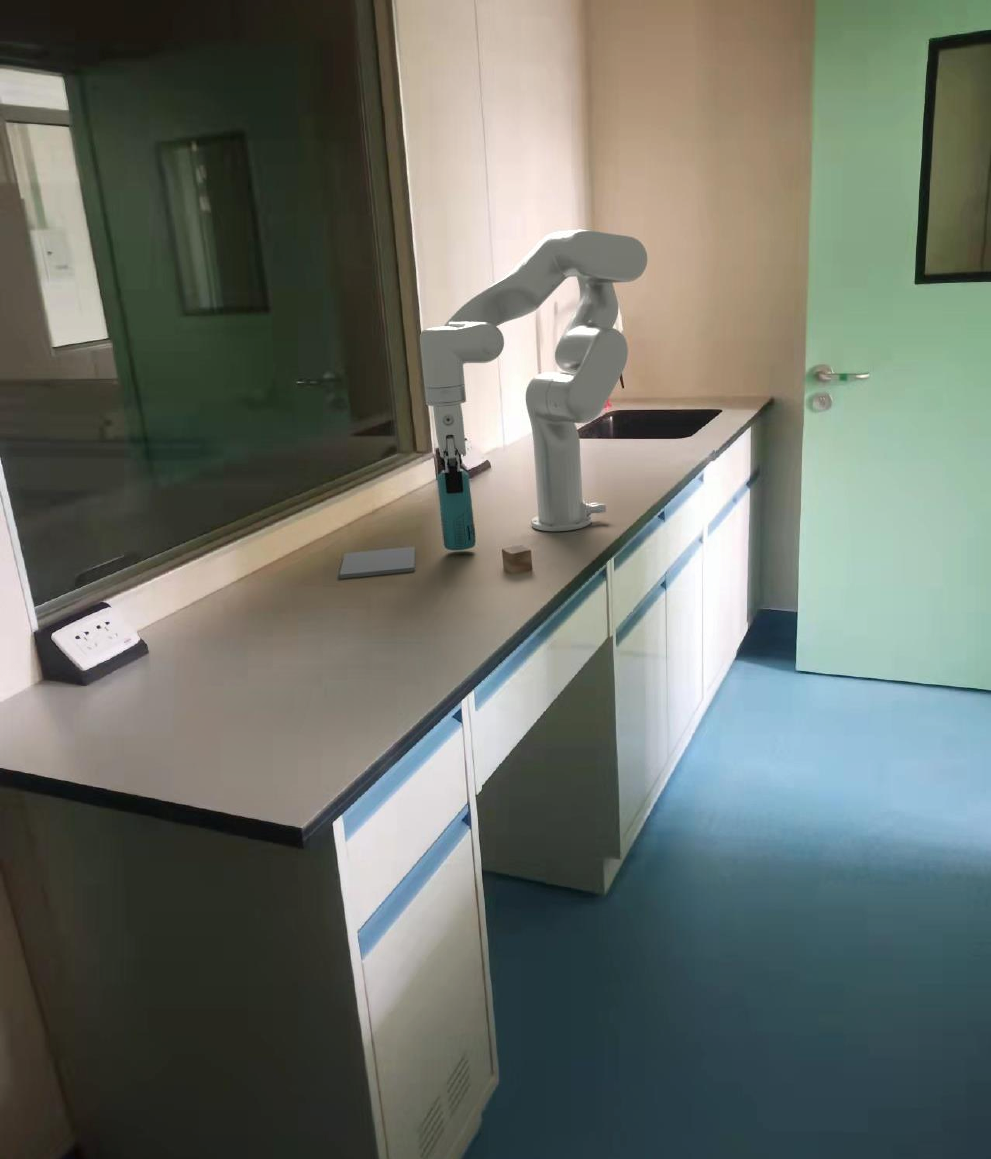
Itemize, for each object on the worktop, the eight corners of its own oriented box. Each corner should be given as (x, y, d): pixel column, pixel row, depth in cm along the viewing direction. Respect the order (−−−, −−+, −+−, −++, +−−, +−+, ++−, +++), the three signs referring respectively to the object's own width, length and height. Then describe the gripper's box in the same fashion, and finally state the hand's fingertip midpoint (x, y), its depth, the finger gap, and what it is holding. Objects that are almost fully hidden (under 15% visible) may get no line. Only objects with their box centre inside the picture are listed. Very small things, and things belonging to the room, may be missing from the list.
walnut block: (522, 565, 184) (521, 544, 183) (532, 570, 180) (530, 549, 179) (503, 569, 182) (501, 548, 181) (512, 574, 179) (511, 553, 178)
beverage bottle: (473, 557, 191) (463, 455, 184) (439, 558, 192) (429, 457, 186) (480, 547, 197) (471, 448, 190) (448, 548, 198) (438, 450, 192)
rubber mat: (414, 550, 199) (414, 546, 198) (414, 571, 185) (414, 567, 185) (345, 557, 198) (344, 553, 198) (340, 578, 185) (339, 574, 184)
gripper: (467, 399, 176) (476, 497, 182) (463, 387, 193) (471, 477, 199) (425, 403, 176) (435, 501, 182) (425, 391, 193) (434, 480, 198)
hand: (454, 487), depth 190 cm, fingers closed on beverage bottle, 6 cm apart
